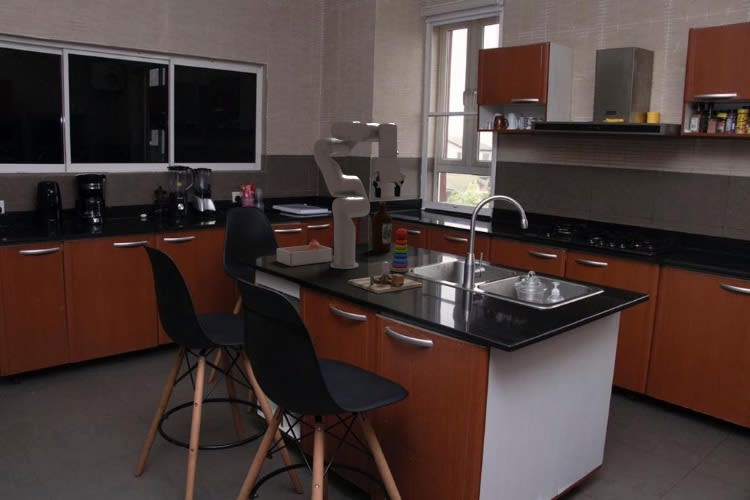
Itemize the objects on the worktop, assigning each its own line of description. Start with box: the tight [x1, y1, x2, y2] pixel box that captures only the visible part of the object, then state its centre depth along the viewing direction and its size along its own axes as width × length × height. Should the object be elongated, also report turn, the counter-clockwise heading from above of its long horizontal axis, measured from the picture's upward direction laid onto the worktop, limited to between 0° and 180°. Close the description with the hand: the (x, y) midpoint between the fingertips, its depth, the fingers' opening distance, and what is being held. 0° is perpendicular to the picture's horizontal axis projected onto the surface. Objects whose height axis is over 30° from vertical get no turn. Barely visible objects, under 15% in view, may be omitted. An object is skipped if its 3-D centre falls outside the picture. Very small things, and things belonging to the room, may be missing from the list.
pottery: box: [291, 239, 320, 253], centre depth 307 cm, size 18×10×10 cm, turn 128°
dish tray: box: [276, 244, 333, 267], centre depth 308 cm, size 13×22×6 cm, turn 127°
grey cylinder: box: [369, 261, 390, 285], centre depth 261 cm, size 3×10×8 cm, turn 127°
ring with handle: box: [374, 273, 405, 286], centre depth 261 cm, size 15×9×4 cm, turn 37°
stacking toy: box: [390, 228, 410, 273], centre depth 290 cm, size 8×8×19 cm
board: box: [347, 273, 423, 294], centre depth 264 cm, size 20×22×1 cm
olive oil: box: [371, 201, 393, 253], centre depth 337 cm, size 11×11×25 cm
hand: (387, 197), depth 268 cm, fingers open, 9 cm apart
